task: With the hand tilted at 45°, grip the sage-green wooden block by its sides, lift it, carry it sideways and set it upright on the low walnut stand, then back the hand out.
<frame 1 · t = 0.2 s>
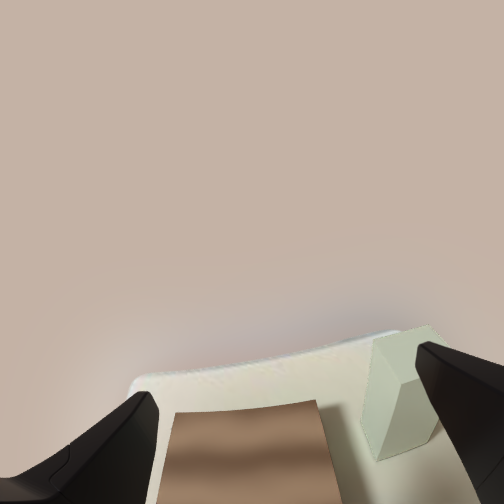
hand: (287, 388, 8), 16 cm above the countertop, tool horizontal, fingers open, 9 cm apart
sage block: (393, 432, 19), on the countertop
walnut stand: (249, 480, 18), on the countertop
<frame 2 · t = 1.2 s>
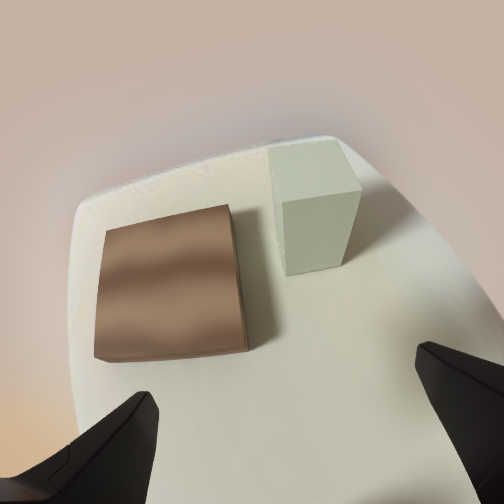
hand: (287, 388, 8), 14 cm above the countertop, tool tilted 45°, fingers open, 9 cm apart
sage block: (307, 246, 26), on the countertop
walnut stand: (170, 289, 25), on the countertop
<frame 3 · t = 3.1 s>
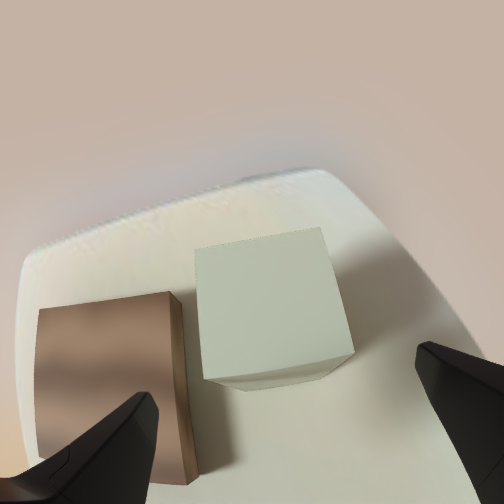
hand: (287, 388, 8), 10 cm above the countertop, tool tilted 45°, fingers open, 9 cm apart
sage block: (277, 350, 18), on the countertop
walnut stand: (109, 391, 18), on the countertop
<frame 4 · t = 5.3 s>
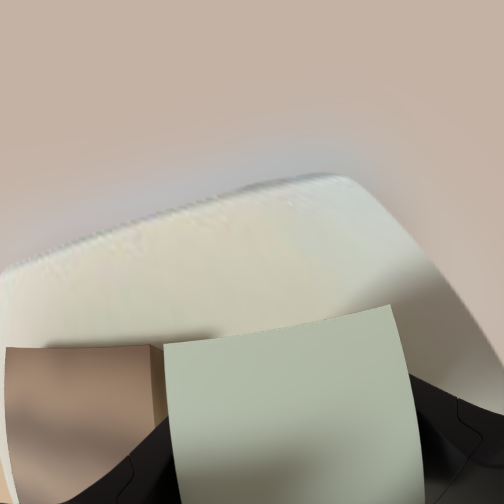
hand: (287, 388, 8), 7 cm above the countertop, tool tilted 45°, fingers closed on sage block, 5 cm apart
sage block: (291, 417, 13), on the countertop, touching gripper
walnut stand: (88, 449, 13), on the countertop
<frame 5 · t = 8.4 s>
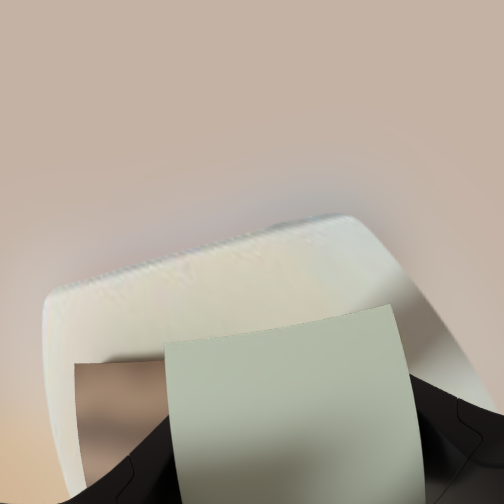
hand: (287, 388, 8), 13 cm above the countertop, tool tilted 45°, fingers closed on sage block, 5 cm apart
sage block: (292, 417, 13), point 7 cm above the countertop, touching gripper
walnut stand: (156, 439, 19), on the countertop
when the fingers open (10 cm above the countertop, at t = 11.6 s): sage block drops 1 cm, resting on walnut stand.
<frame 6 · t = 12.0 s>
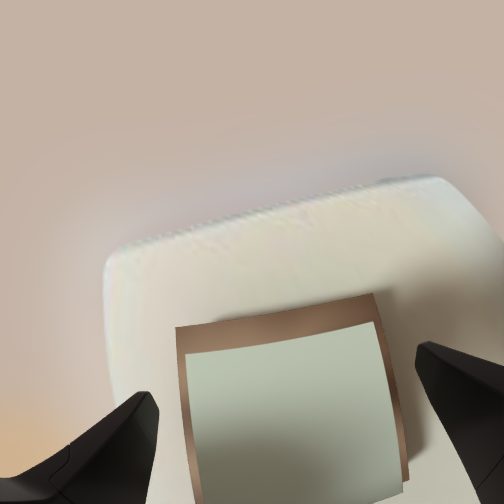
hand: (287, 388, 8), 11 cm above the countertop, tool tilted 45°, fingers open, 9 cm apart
sage block: (291, 415, 14), point 2 cm above the countertop, touching walnut stand
walnut stand: (291, 413, 16), on the countertop
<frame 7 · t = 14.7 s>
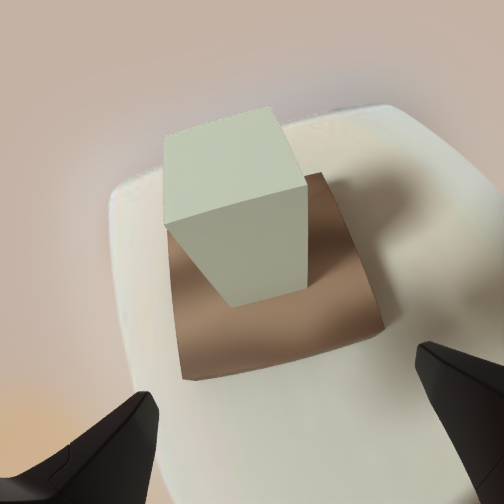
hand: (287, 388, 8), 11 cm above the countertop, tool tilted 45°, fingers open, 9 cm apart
sage block: (260, 263, 19), point 2 cm above the countertop, touching walnut stand
walnut stand: (265, 278, 21), on the countertop
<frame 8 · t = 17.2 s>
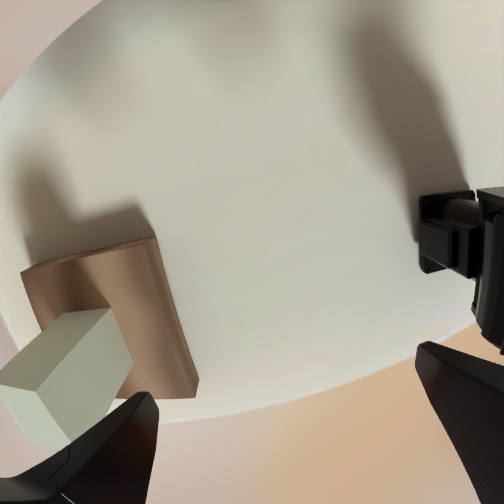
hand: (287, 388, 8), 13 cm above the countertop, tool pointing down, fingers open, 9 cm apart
sage block: (97, 338, 20), point 2 cm above the countertop, touching walnut stand
walnut stand: (110, 324, 22), on the countertop
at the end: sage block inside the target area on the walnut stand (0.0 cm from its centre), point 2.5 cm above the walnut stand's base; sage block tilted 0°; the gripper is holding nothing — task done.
